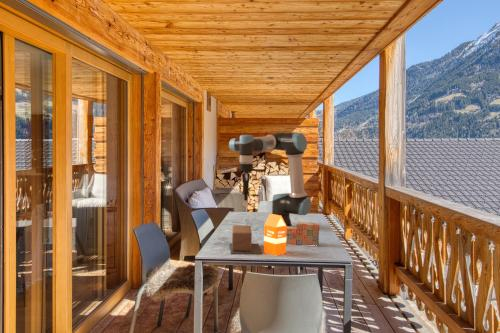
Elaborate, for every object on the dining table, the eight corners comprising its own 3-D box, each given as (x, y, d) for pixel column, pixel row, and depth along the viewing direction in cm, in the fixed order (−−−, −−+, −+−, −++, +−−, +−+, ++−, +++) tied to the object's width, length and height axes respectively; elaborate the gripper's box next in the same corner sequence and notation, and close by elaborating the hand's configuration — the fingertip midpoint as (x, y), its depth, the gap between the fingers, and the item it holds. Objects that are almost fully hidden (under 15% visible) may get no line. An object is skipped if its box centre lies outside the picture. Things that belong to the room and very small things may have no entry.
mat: (258, 244, 244) (258, 243, 244) (261, 254, 224) (262, 252, 224) (229, 244, 243) (229, 243, 243) (230, 254, 223) (230, 252, 223)
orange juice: (274, 250, 234) (275, 212, 233) (286, 253, 227) (287, 215, 226) (263, 252, 229) (264, 214, 227) (275, 255, 222) (276, 216, 221)
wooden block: (250, 242, 245) (251, 251, 225) (232, 242, 245) (231, 251, 225) (250, 225, 245) (251, 232, 225) (232, 225, 244) (232, 232, 224)
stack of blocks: (279, 244, 248) (280, 222, 248) (281, 241, 254) (282, 220, 254) (318, 246, 244) (318, 225, 243) (318, 244, 250) (319, 223, 249)
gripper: (238, 162, 245) (238, 204, 247) (239, 163, 232) (239, 208, 234) (251, 162, 246) (251, 204, 247) (253, 164, 233) (253, 208, 234)
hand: (245, 206), depth 241 cm, fingers closed
